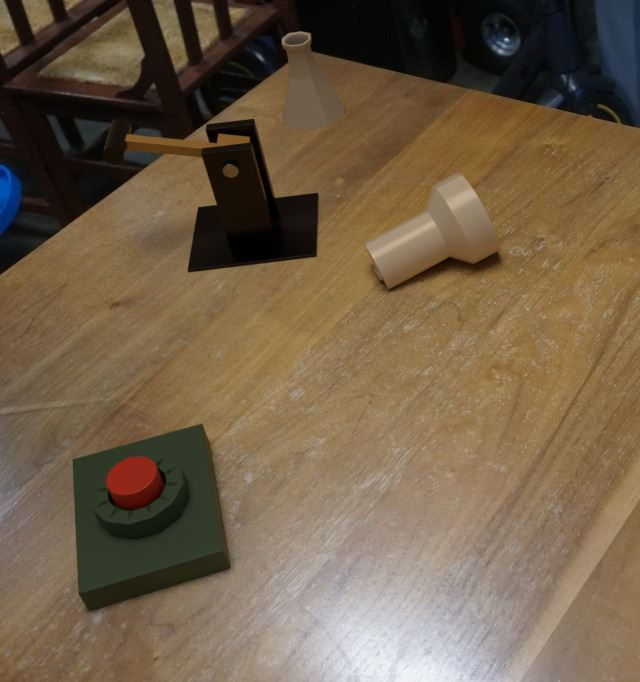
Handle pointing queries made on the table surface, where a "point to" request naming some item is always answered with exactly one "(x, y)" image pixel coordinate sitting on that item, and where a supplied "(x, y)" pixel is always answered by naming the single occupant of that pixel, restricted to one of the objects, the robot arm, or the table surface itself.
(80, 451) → the table surface
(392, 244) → the spotlight
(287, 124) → the flask
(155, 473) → the button
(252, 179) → the bracket
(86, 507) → the control box
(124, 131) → the hammer
